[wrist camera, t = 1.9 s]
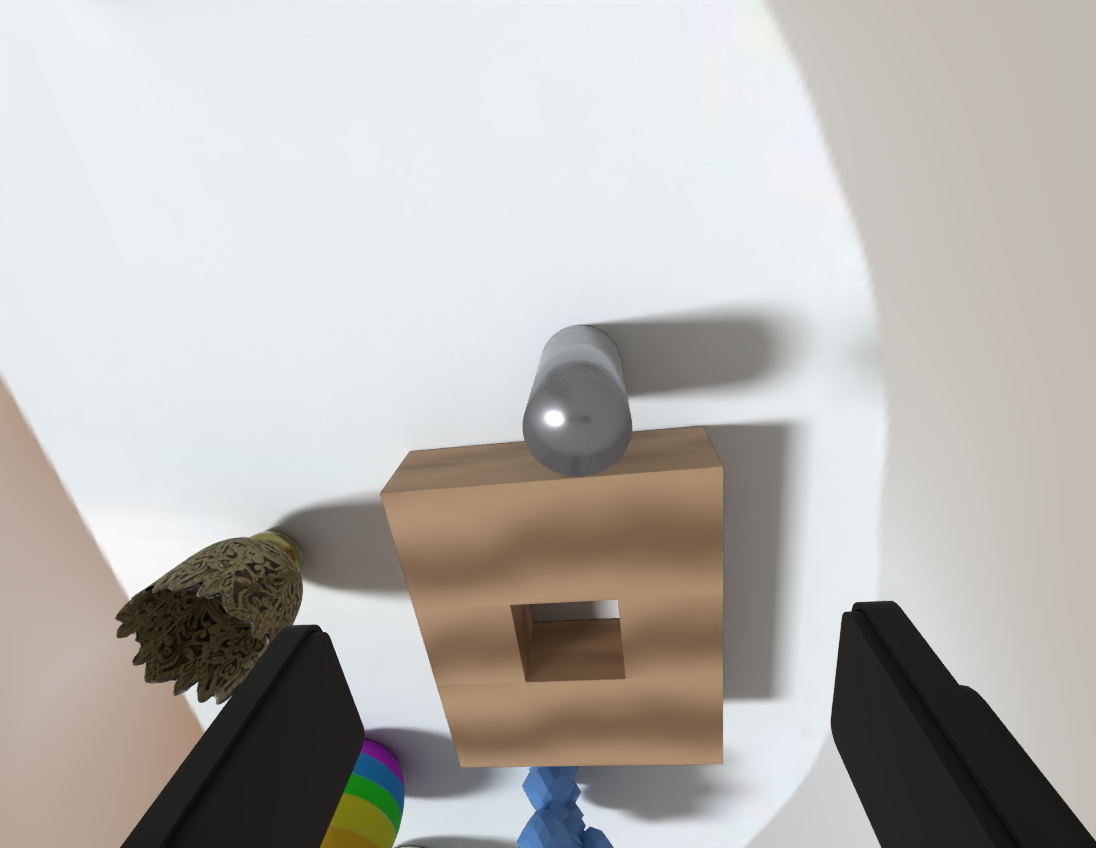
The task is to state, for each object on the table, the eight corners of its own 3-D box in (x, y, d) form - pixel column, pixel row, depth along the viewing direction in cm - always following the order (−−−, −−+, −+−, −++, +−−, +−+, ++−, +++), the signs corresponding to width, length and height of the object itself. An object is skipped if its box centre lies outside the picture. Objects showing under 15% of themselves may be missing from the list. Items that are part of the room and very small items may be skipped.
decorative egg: (291, 739, 40) (203, 900, 31) (379, 714, 38) (313, 877, 29) (350, 802, 43) (285, 968, 33) (435, 782, 41) (390, 951, 32)
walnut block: (409, 451, 29) (379, 493, 25) (702, 425, 27) (723, 466, 23) (475, 703, 37) (460, 767, 33) (707, 697, 35) (722, 763, 31)
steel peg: (535, 329, 26) (515, 382, 18) (617, 320, 25) (628, 371, 18) (546, 404, 27) (530, 480, 20) (623, 397, 27) (635, 472, 20)
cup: (206, 497, 31) (89, 589, 24) (324, 500, 31) (241, 594, 23) (238, 595, 34) (143, 702, 27) (346, 599, 34) (279, 710, 26)
